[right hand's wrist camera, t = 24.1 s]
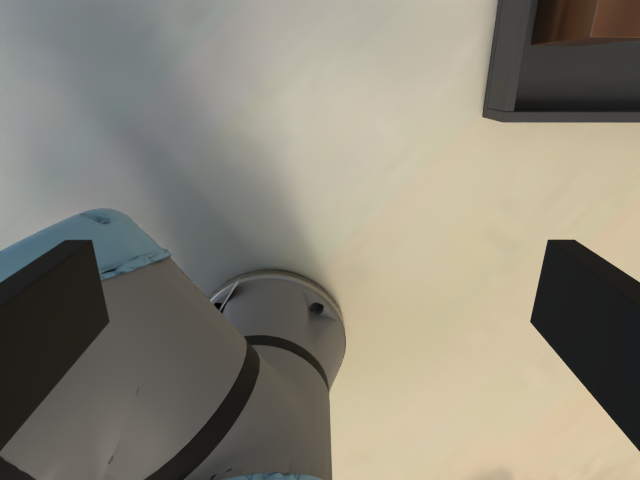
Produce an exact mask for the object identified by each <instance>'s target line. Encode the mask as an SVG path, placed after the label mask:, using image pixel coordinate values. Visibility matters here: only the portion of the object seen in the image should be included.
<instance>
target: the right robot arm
mask: <svg viewBox="0 0 640 480" xmlns="http://www.w3.org/2000/svg"><path fill="white" fill-rule="evenodd" d="M171 255H172V254H171V253H170V252H169V251H168V250H167V249H162V248H161V247H160V246H159V245H158V244H157V243H156V242H155V241H154V240H153V239H152V238H151V237H149V236H148V235H147V234H146V233H145V232H144V231H143V230H142V229H141V228H140V227H139V226H138V225H137V224H136V223H135V222H134V221H133V220H132V219H131V218H129V217H128V216H127V215H125V214H124V213H122V212H120V211H117V210H113V209H94V210H89V211H86V212H83V213H80V214H77V215H75V216H72V217H70V218H68V219H65V220H63V221H61V222H59V223H56V224H54V225H52V226H50V227H48V228H45V229H43V230H41V231H39V232H37V233H35V234H33V235H31V236H29V237H27V238H25V239H23V240H21V241H19V242H17V243H15V244H13V245H11V246H9V247H7V248H5V249H3V250H2V251H0V480H332V461H331V431H330V401H329V391H330V389H331V386H332V384H333V382H334V380H335V377H336V375H337V373H338V371H339V368H340V366H341V364H342V361H343V358H344V354H345V347H346V338H345V328H344V322H343V318H342V315H341V313H340V311H339V309H338V307H337V305H336V303H335V302H334V300H333V299H332V298H331V297H330V296H329V294H328V293H327V292H326V291H325V290H323V289H322V288H321V287H320V286H318V285H317V284H315V283H314V282H312V281H311V280H309V279H307V278H305V277H302V276H300V275H297V274H294V273H290V272H286V271H279V270H260V271H253V272H249V273H245V274H242V275H240V276H237V277H235V278H233V279H231V280H229V281H228V282H226V283H225V284H223V285H222V286H221V287H220V288H219V289H217V290H216V291H215V293H214V294H213V295H212V296H211V297H210V299H208V298H207V297H206V296H205V295H204V294H203V293H202V292H201V291H200V290H199V288H198V287H197V286H196V285H195V284H194V283H193V282H192V281H191V280H190V279H189V278H188V276H187V275H186V274H185V273H184V272H183V271H182V270H181V269H180V268H179V267H178V266H177V264H176V263H175V262H174V261H173V260H172V259H171V258H170V257H169V256H171ZM530 322H531V323H532V325H533V326H534V327H535V328H536V329H537V330H538V332H539V333H540V334H541V335H542V336H543V338H544V339H545V340H546V341H547V342H548V343H549V345H550V346H551V347H552V348H553V349H554V351H555V352H556V353H557V354H558V355H559V356H560V358H561V359H562V360H563V361H564V362H565V364H566V365H567V366H568V367H569V368H570V370H571V371H572V372H573V373H574V374H575V375H576V377H577V378H578V379H579V380H580V381H581V383H582V384H583V385H584V386H585V387H586V388H587V390H588V391H589V392H590V393H591V394H592V396H593V397H594V398H595V399H596V400H597V401H598V403H599V404H600V405H601V406H602V407H603V409H604V410H605V411H606V412H607V413H608V415H609V416H610V417H611V418H612V419H613V420H614V422H615V423H616V424H617V425H618V426H619V428H620V429H621V430H622V431H623V432H624V433H625V435H626V436H627V437H628V438H629V439H630V441H631V442H632V443H633V444H634V445H635V446H636V448H637V449H638V450H639V451H640V282H638V281H637V280H635V279H634V278H632V277H631V276H629V275H628V274H626V273H625V272H623V271H621V270H620V269H618V268H617V267H615V266H614V265H612V264H611V263H609V262H608V261H606V260H605V259H603V258H602V257H600V256H599V255H597V254H596V253H594V252H592V251H591V250H589V249H588V248H586V247H585V246H583V245H582V244H580V243H579V242H577V241H576V240H548V242H547V246H546V251H545V256H544V260H543V265H542V270H541V274H540V279H539V283H538V288H537V293H536V297H535V302H534V307H533V311H532V316H531V320H530Z"/></svg>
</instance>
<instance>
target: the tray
mask: <svg viewBox="0 0 640 480" xmlns="http://www.w3.org/2000/svg"><path fill="white" fill-rule="evenodd" d="M538 2H539V0H499V1H498V8H497V16H496V23H495V30H494V37H493V45H492V52H491V59H490V66H489V74H488V81H487V88H486V95H485V103H484V110H483V117H485V118H489V119H492V120H496V121H500V122H640V40H637V41H628V42H618V43H608V44H599V45H589V46H541V45H531V42H532V36H533V31H534V25H535V19H536V13H537V8H538Z"/></svg>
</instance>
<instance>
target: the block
mask: <svg viewBox="0 0 640 480" xmlns="http://www.w3.org/2000/svg"><path fill="white" fill-rule="evenodd" d="M637 40H640V0H539V2H538V8H537V13H536V19H535V25H534V31H533V36H532V42H531V45H541V46H589V45H599V44H608V43H618V42H628V41H637Z"/></svg>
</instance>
